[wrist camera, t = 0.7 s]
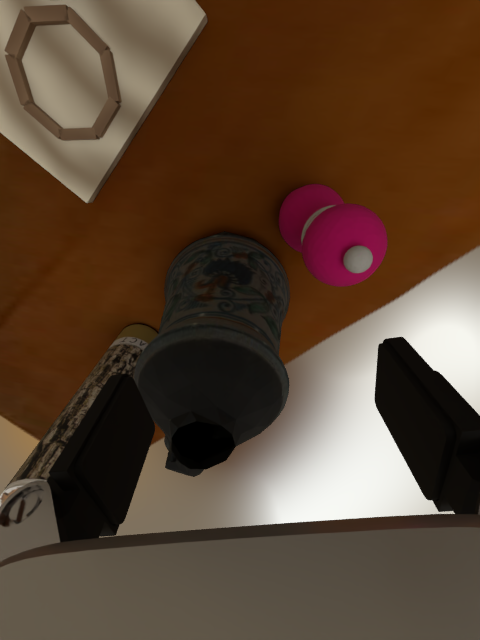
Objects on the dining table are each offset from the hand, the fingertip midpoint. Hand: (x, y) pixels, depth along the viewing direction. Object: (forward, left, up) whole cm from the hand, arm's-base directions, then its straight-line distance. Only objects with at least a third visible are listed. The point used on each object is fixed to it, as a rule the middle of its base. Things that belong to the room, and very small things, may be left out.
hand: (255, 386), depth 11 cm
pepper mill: (-6, +4, -29) cm, 30 cm away
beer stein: (+9, +5, -29) cm, 31 cm away
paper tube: (+24, 0, -29) cm, 38 cm away
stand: (-1, -25, -29) cm, 38 cm away
